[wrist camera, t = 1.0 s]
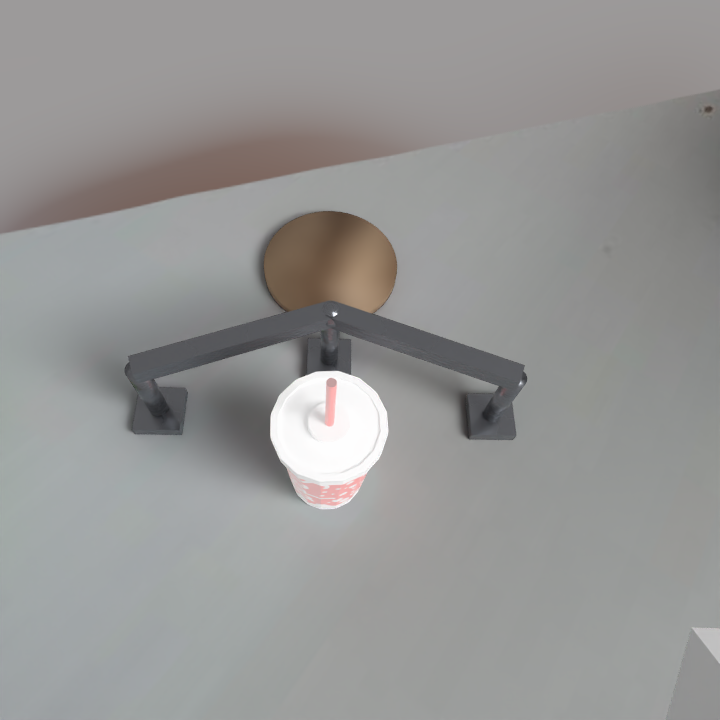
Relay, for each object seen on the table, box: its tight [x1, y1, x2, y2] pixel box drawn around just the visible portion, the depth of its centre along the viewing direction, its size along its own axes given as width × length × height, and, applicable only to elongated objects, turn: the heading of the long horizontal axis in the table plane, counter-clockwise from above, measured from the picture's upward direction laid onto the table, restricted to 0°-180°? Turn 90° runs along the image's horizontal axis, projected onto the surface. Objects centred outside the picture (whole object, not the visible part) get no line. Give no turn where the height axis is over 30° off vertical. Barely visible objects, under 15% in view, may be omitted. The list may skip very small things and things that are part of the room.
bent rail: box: [125, 300, 527, 440], centre depth 39 cm, size 25×7×7 cm, turn 90°
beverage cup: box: [270, 371, 388, 509], centre depth 33 cm, size 6×6×14 cm
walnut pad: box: [264, 211, 397, 314], centre depth 46 cm, size 10×10×1 cm
